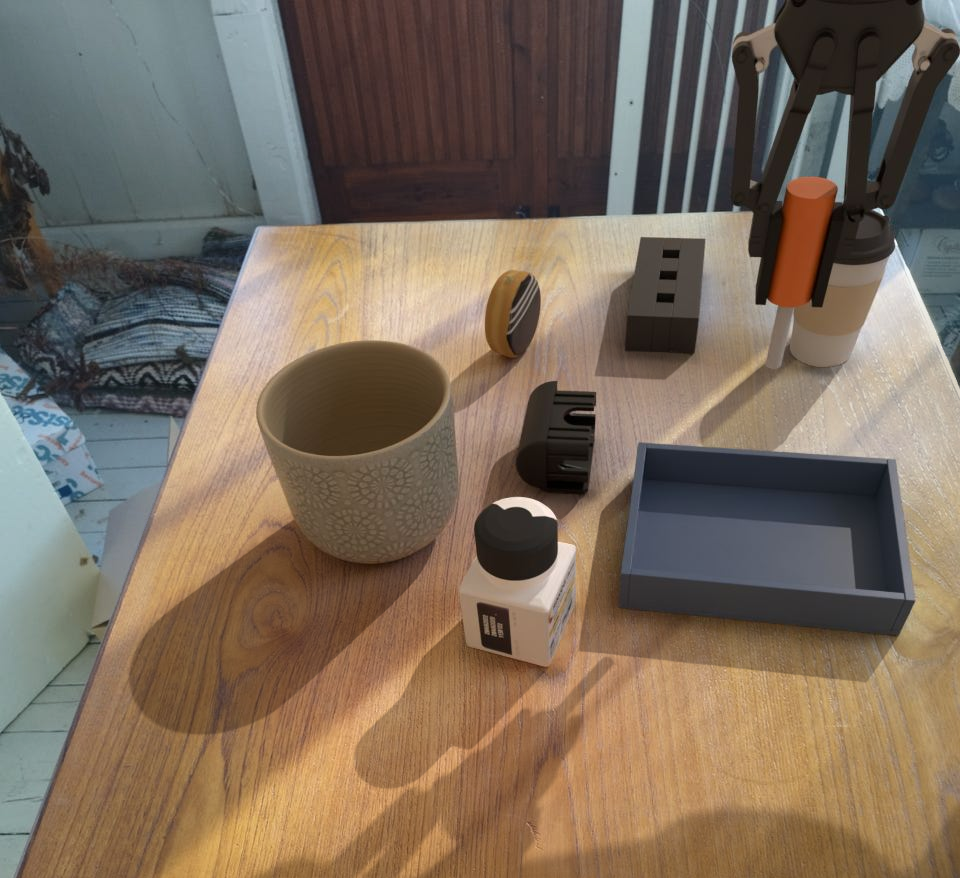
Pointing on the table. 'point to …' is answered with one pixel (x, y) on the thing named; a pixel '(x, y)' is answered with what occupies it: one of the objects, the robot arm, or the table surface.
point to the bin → (768, 538)
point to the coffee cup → (844, 298)
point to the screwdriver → (798, 253)
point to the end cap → (557, 440)
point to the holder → (666, 295)
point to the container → (518, 582)
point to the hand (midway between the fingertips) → (788, 295)
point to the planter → (364, 447)
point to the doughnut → (512, 313)
